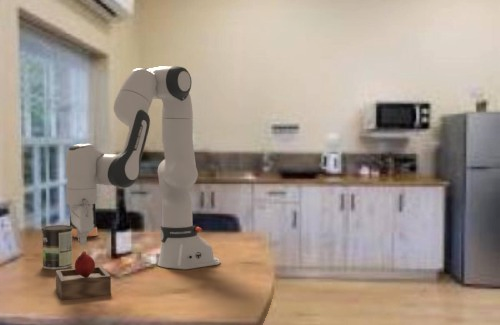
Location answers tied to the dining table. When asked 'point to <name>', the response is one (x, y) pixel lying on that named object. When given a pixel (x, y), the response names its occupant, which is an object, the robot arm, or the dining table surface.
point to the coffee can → (57, 247)
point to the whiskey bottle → (94, 233)
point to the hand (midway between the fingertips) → (82, 243)
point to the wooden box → (82, 283)
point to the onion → (84, 265)
